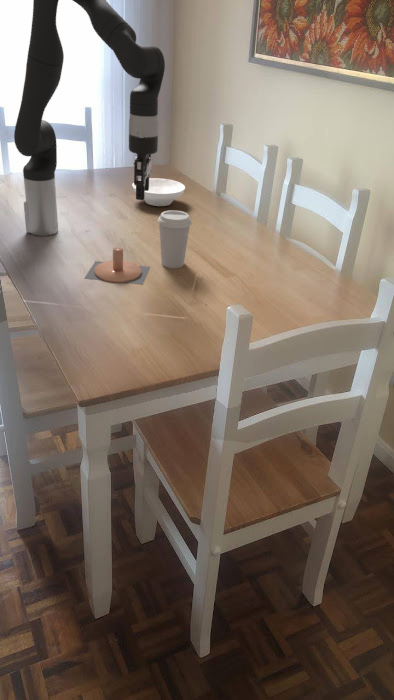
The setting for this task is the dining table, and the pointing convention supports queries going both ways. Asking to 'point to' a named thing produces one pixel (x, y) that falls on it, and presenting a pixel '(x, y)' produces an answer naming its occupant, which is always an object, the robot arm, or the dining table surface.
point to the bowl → (162, 191)
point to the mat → (137, 281)
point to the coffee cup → (173, 237)
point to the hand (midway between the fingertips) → (142, 194)
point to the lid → (118, 269)
